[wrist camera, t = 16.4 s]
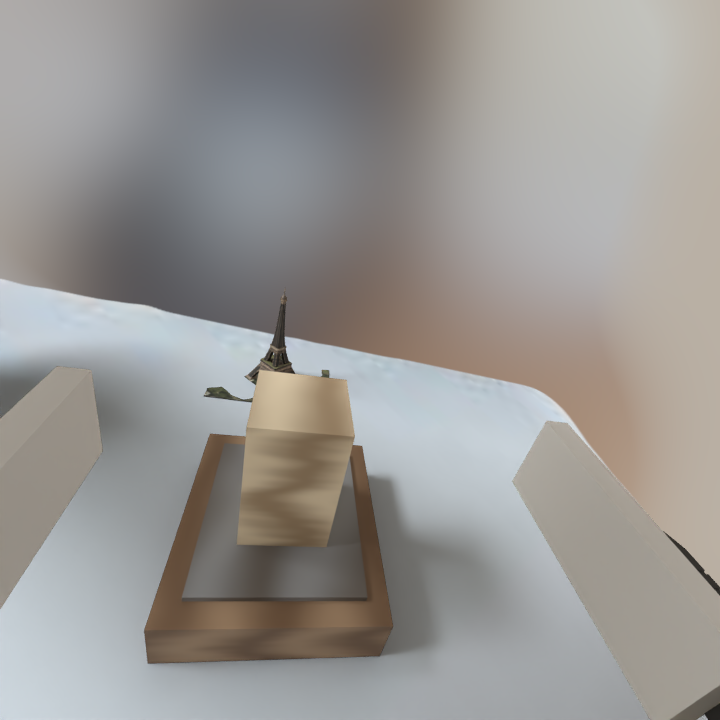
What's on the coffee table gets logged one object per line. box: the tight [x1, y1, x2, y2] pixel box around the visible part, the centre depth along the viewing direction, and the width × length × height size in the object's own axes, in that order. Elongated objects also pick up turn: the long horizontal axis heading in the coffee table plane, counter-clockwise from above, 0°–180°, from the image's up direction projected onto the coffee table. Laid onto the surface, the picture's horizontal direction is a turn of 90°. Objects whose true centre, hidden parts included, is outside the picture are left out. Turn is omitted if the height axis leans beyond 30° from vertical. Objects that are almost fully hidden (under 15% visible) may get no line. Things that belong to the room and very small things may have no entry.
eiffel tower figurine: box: [204, 292, 329, 402], centre depth 47 cm, size 15×10×13 cm
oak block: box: [237, 370, 355, 547], centre depth 26 cm, size 6×6×10 cm
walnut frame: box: [144, 434, 393, 663], centre depth 30 cm, size 14×16×4 cm
